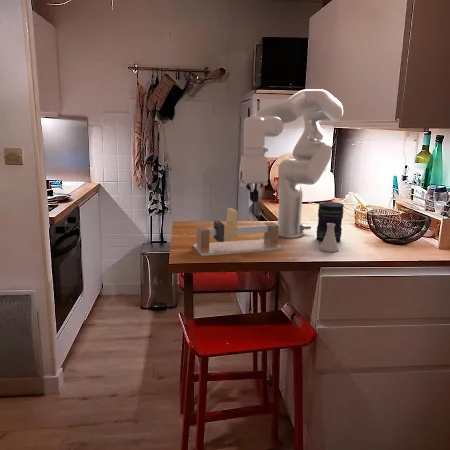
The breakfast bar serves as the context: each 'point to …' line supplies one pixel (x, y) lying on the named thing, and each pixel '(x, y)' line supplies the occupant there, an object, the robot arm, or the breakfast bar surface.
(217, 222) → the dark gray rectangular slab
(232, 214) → the wooden block
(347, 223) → the breakfast bar surface
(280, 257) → the breakfast bar surface
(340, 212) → the storage jar
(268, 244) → the pipe rig
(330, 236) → the flask
